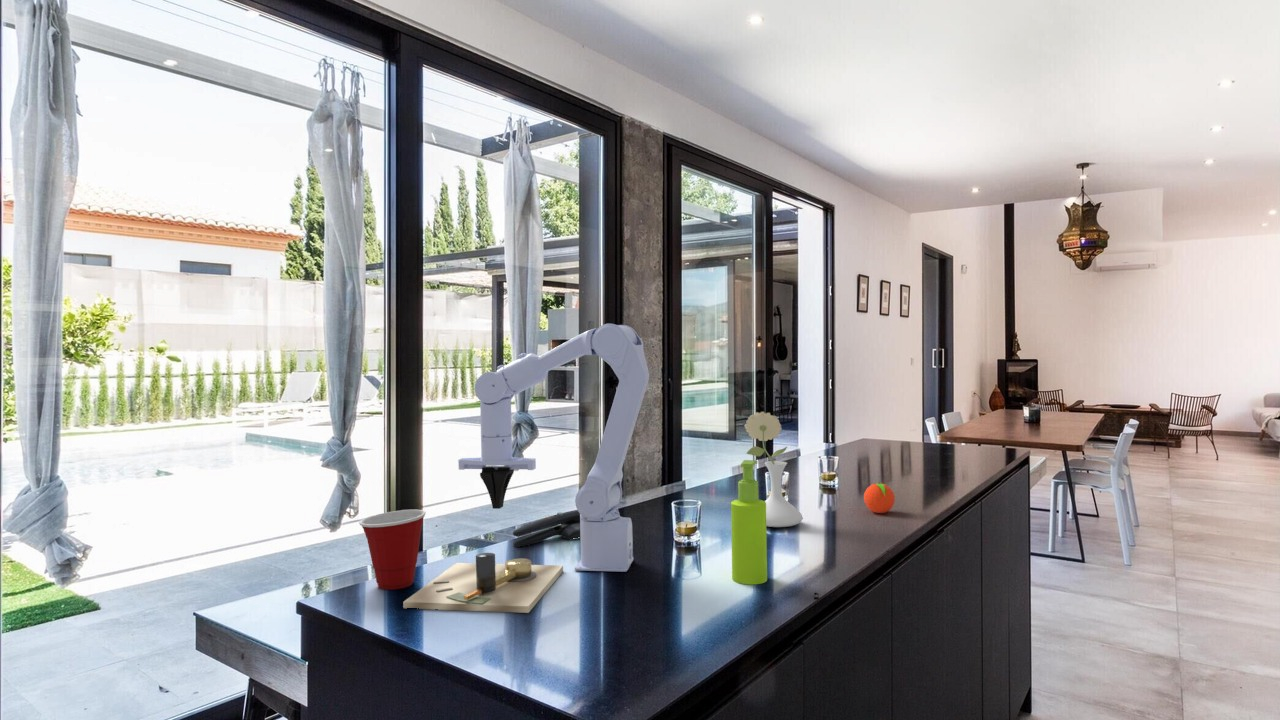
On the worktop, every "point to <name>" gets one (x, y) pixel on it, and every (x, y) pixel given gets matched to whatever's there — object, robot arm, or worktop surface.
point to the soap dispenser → (749, 531)
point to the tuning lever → (489, 580)
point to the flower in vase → (772, 471)
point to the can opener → (566, 529)
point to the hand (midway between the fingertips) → (497, 507)
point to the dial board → (506, 597)
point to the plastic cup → (394, 546)
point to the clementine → (879, 498)
